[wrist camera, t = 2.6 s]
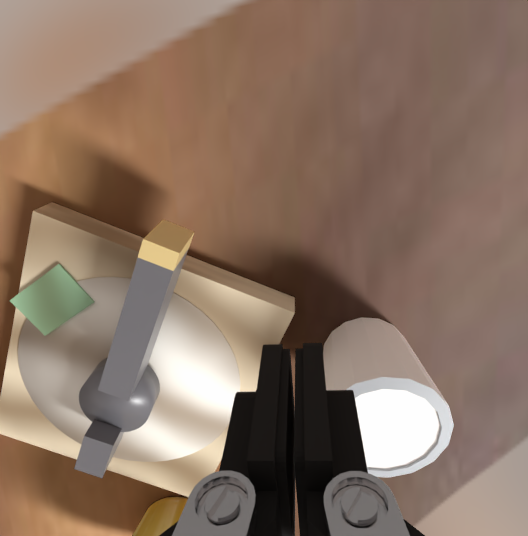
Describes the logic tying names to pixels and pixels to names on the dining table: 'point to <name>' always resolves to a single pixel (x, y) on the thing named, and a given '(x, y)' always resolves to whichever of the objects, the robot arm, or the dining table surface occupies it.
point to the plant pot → (160, 516)
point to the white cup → (388, 396)
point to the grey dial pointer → (132, 350)
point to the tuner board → (100, 340)
